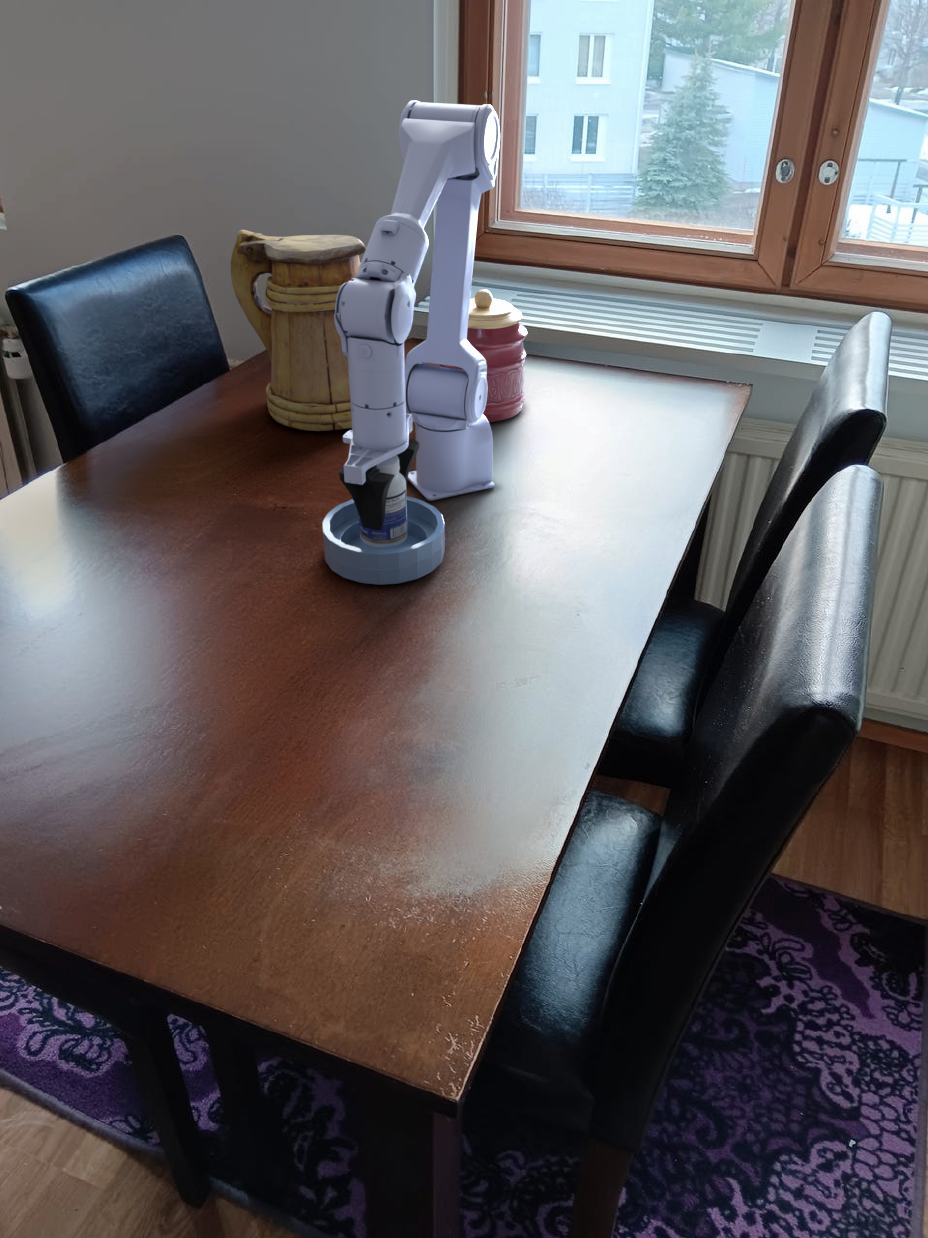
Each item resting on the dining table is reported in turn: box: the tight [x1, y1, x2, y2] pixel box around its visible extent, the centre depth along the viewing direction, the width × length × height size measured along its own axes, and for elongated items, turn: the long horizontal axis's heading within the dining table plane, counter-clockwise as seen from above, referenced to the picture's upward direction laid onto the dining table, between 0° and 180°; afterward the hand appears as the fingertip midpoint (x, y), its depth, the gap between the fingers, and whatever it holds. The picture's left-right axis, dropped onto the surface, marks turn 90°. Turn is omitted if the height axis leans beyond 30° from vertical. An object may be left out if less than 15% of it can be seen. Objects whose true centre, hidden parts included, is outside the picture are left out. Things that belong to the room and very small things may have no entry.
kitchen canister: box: [439, 288, 528, 423], centre depth 143 cm, size 13×13×18 cm
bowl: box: [321, 495, 446, 586], centre depth 110 cm, size 14×14×4 cm
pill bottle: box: [359, 455, 407, 548], centre depth 107 cm, size 5×5×10 cm
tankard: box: [230, 229, 367, 432], centre depth 140 cm, size 18×24×25 cm
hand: (383, 514), depth 108 cm, fingers closed on pill bottle, 5 cm apart
